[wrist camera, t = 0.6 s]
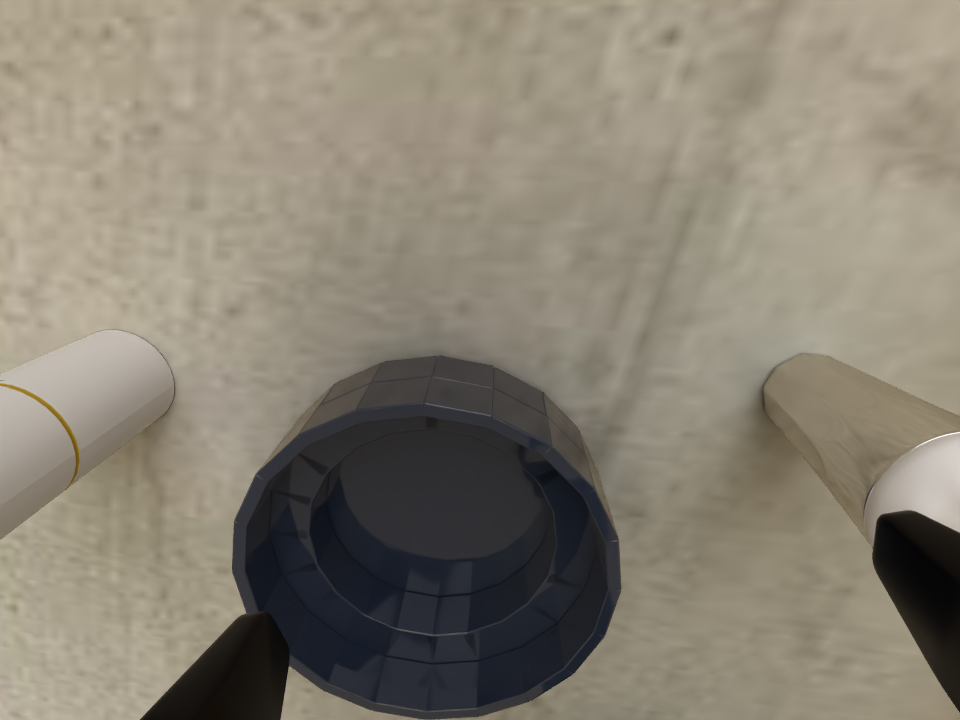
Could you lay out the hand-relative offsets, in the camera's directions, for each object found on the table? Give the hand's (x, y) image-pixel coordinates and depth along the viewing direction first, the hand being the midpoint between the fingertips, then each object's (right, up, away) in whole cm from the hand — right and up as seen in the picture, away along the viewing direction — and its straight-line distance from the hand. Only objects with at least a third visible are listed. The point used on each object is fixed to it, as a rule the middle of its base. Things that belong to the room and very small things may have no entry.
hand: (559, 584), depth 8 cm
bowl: (-3, -3, +17) cm, 17 cm away
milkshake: (+12, +2, +14) cm, 19 cm away
